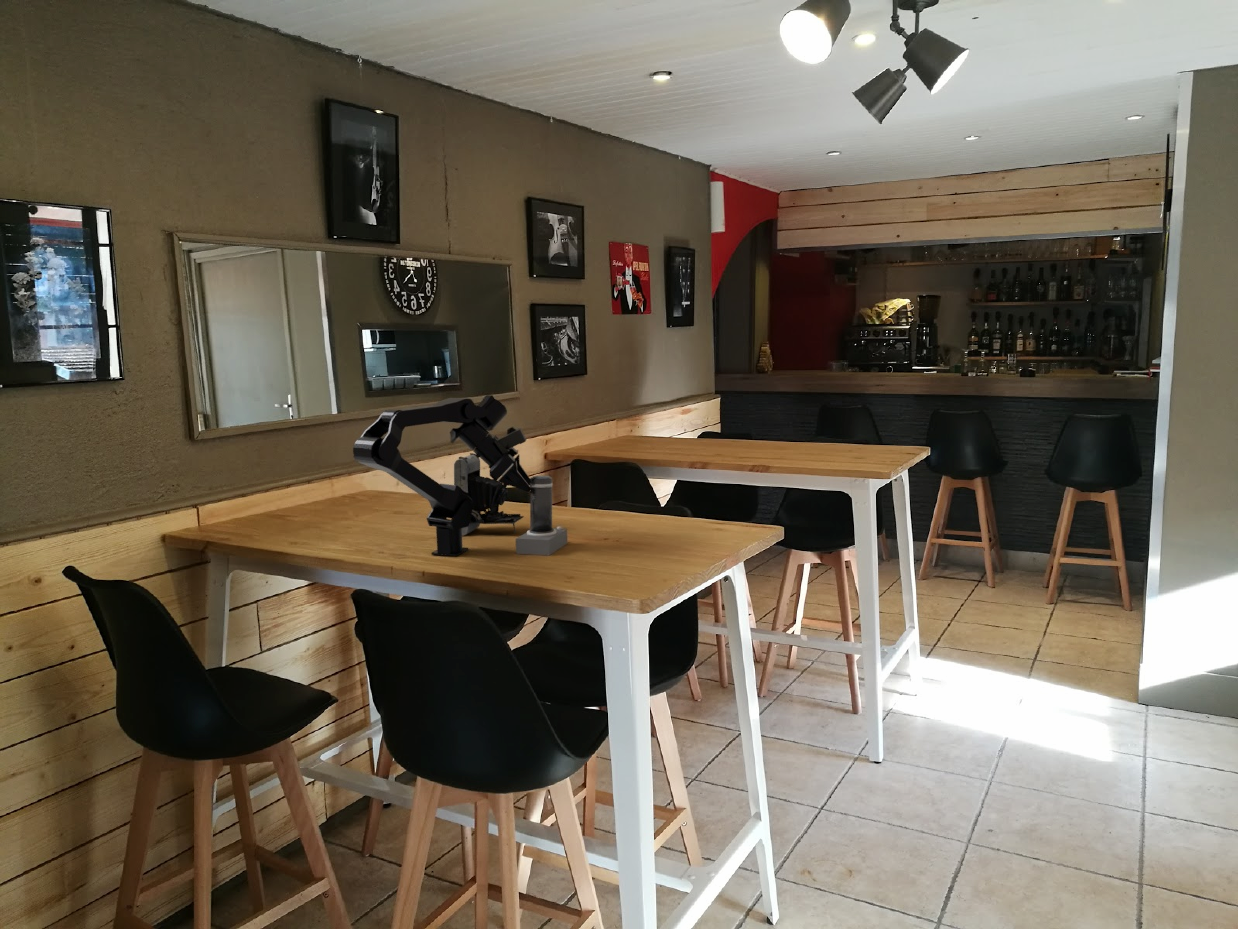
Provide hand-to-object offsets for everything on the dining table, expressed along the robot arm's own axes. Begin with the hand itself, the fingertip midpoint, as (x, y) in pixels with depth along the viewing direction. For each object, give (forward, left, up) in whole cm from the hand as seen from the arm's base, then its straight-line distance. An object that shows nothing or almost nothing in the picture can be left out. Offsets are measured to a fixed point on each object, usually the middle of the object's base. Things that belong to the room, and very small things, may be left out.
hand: (530, 487), depth 210 cm
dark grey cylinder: (-4, -4, -9) cm, 11 cm away
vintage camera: (+10, +15, -14) cm, 23 cm away
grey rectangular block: (-4, -4, -14) cm, 15 cm away
